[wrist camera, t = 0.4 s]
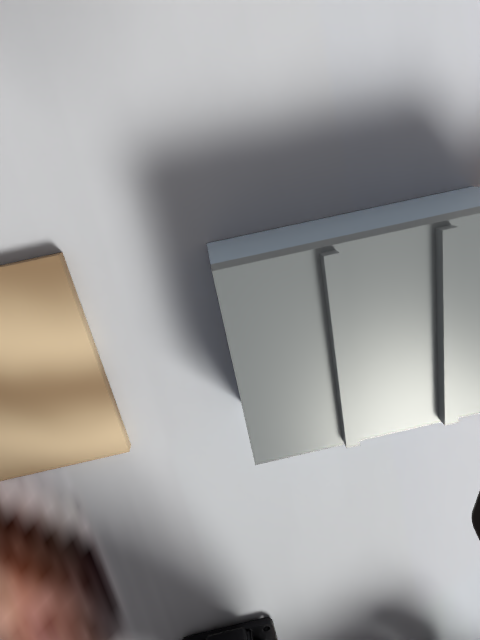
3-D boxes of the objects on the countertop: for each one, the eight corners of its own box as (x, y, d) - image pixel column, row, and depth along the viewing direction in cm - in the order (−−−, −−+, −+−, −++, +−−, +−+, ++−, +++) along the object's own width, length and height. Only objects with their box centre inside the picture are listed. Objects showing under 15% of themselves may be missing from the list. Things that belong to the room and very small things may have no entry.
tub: (470, 351, 24) (521, 388, 20) (242, 403, 24) (252, 450, 20) (472, 186, 21) (534, 194, 17) (206, 243, 20) (210, 264, 17)
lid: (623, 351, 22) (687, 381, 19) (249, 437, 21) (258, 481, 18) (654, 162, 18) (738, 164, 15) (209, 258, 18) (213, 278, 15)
